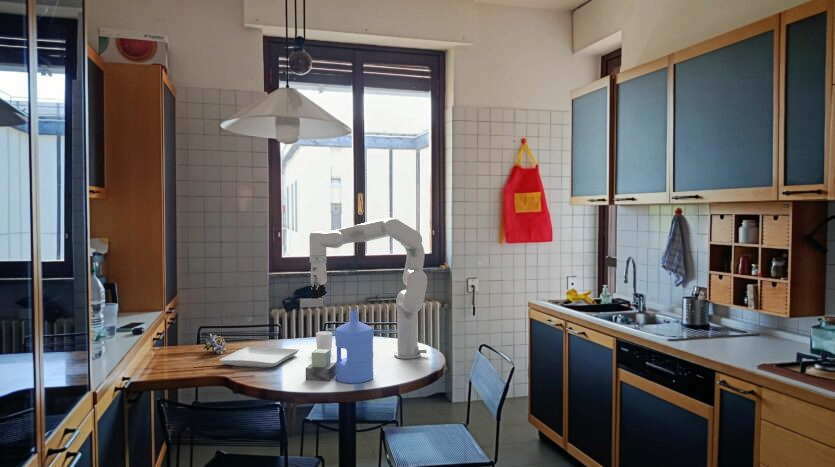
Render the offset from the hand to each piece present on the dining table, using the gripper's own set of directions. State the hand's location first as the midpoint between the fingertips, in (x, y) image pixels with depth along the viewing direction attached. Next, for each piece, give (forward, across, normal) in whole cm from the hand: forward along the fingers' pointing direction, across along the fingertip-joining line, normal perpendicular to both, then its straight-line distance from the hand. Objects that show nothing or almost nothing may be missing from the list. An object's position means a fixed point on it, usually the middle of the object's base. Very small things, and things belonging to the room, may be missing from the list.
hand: (318, 296), depth 267 cm
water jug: (+31, -22, -22) cm, 44 cm away
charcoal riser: (+30, -22, -8) cm, 38 cm away
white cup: (+31, +18, +3) cm, 36 cm away
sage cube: (+25, -22, -8) cm, 34 cm away
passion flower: (+31, +10, +56) cm, 65 cm away
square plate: (+31, 0, +28) cm, 42 cm away
